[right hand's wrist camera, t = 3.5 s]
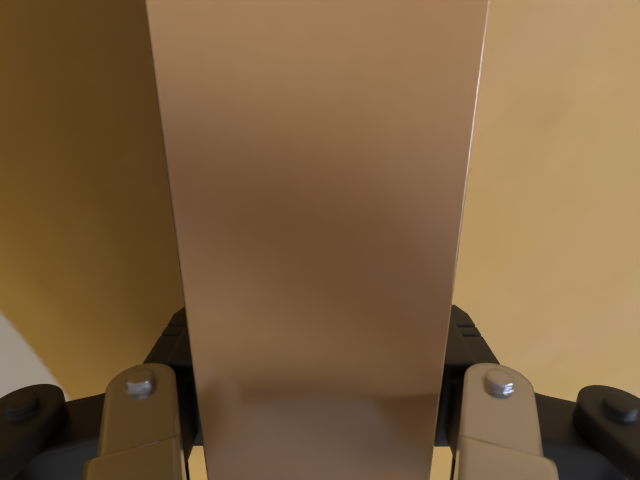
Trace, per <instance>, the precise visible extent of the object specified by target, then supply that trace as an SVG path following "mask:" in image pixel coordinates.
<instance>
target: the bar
mask: <svg viewBox="0 0 640 480" xmlns="http://www.w3.org/2000/svg"><path fill="white" fill-rule="evenodd" d="M145 6H146V13H147V21H148V29H149V36H150V44H151V51H152V59H153V67H154V74H155V82H156V90H157V97H158V105H159V112H160V120H161V128H162V135H163V143H164V151H165V158H166V166H167V173H168V181H169V189H170V196H171V204H172V212H173V219H174V227H175V234H176V242H177V250H178V257H179V265H180V273H181V280H182V288H183V295H184V303H185V311H186V318H187V326H188V334H189V341H190V349H191V356H192V364H193V372H194V379H195V387H196V395H197V402H198V410H199V417H200V425H201V433H202V440H203V448H204V456H205V463H206V471H207V478H208V480H429V479H430V471H431V463H432V455H433V448H434V440H435V432H436V424H437V416H438V408H439V400H440V392H441V385H442V377H443V369H444V361H445V353H446V345H447V337H448V329H449V322H450V314H451V306H452V298H453V290H454V282H455V274H456V267H457V259H458V251H459V243H460V235H461V227H462V219H463V211H464V204H465V196H466V188H467V180H468V172H469V164H470V156H471V149H472V141H473V133H474V125H475V117H476V109H477V101H478V93H479V86H480V78H481V70H482V62H483V54H484V46H485V38H486V30H487V23H488V15H489V7H490V0H145Z"/></svg>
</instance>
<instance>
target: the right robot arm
mask: <svg viewBox="0 0 640 480" xmlns="http://www.w3.org/2000/svg"><path fill="white" fill-rule="evenodd" d="M193 446H203V440H202V433H201V425H200V417H199V410H198V402H197V395H196V387H195V379H194V372H193V364H192V356H191V349H190V341H189V334H188V326H187V318H186V311H185V307H183V308H182V309H181V310H179V311H178V312H176V313H175V314H174V315H173V317H172V319H171V320H170V322H169V323H168V326H167V327H166V328H165V330H164V331H163V333H162V336H160V337H159V339H158V341H157V342H156V344H155V345H154V347H153V349H152V350H151V352H150V353H149V355H148V356H147V358H146V360H145V361H144V363H143V364H141V365H137V366H134V367H131V368H129V369H127V370H125V371H123V372H121V373H120V374H118V375H117V376H116V377H115V378H113V379H112V380H111V382H110V383H109V384H108V386H107V389H106V393H103V394H99V395H96V396H91V397H86V398H82V399H77V400H72V401H68V402H66V401H65V397H64V394H63V391H62V390H61V389H60V388H59V387H58V386H55V385H51V384H38V385H32V386H28V387H24V388H21V389H18V390H16V391H13V392H11V393H9V394H7V395H5V396H4V397H2V398H0V480H190V470H189V463H188V459H189V456H190V453H191V450H192V448H193ZM434 446H450V448H451V451H452V454H453V456H452V463H451V470H450V480H640V399H639V398H638V397H636V396H634V395H632V394H630V393H628V392H625V391H623V390H620V389H617V388H613V387H609V386H602V385H592V386H587V387H584V388H582V389H581V390H580V391H579V393H578V397H577V400H576V402H572V401H568V400H563V399H558V398H554V397H549V396H545V395H541V394H538V393H535V392H534V389H533V386H532V384H531V383H530V382H529V380H528V379H527V378H525V377H524V376H523V375H522V374H520V373H519V372H517V371H515V370H513V369H511V368H509V367H506V366H503V365H500V363H499V362H498V360H497V359H496V357H495V356H494V354H493V353H492V351H491V349H490V348H489V346H488V345H487V343H486V342H485V340H484V339H483V337H481V334H480V332H479V331H478V329H477V328H476V327H475V325H474V323H473V321H472V320H471V318H470V317H469V315H468V314H467V313H465V312H464V311H462V310H461V309H460V308H458V307H457V306H455V305H452V306H451V314H450V322H449V329H448V337H447V345H446V353H445V361H444V369H443V377H442V385H441V392H440V400H439V408H438V416H437V424H436V432H435V440H434Z"/></svg>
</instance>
